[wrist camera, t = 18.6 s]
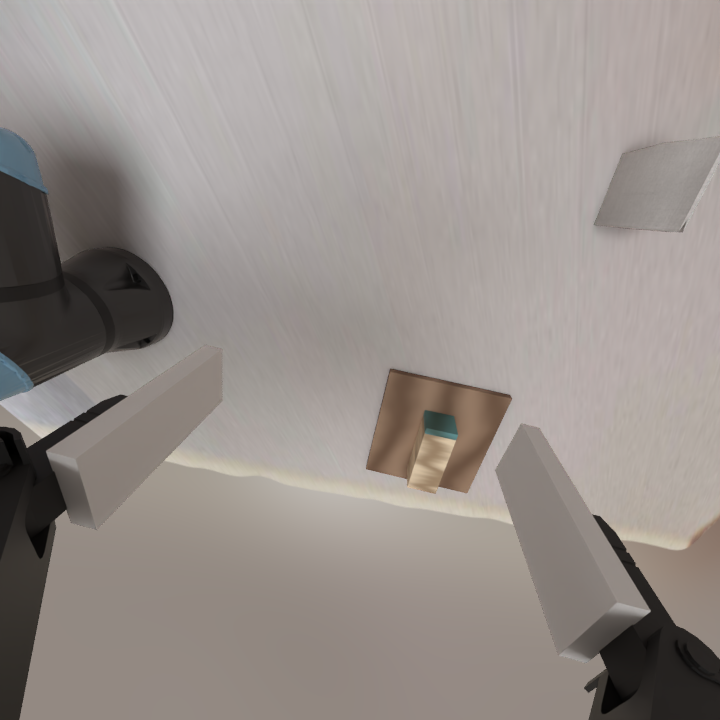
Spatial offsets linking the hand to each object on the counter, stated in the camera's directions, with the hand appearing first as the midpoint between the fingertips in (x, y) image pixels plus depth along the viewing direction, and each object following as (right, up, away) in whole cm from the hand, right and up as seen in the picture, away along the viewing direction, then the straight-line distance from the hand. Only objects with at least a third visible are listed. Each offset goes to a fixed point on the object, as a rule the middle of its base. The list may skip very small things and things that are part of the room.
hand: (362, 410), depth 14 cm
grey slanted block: (+29, +20, +20) cm, 40 cm away
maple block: (+10, -17, +37) cm, 42 cm away
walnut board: (+12, -10, +37) cm, 40 cm away
